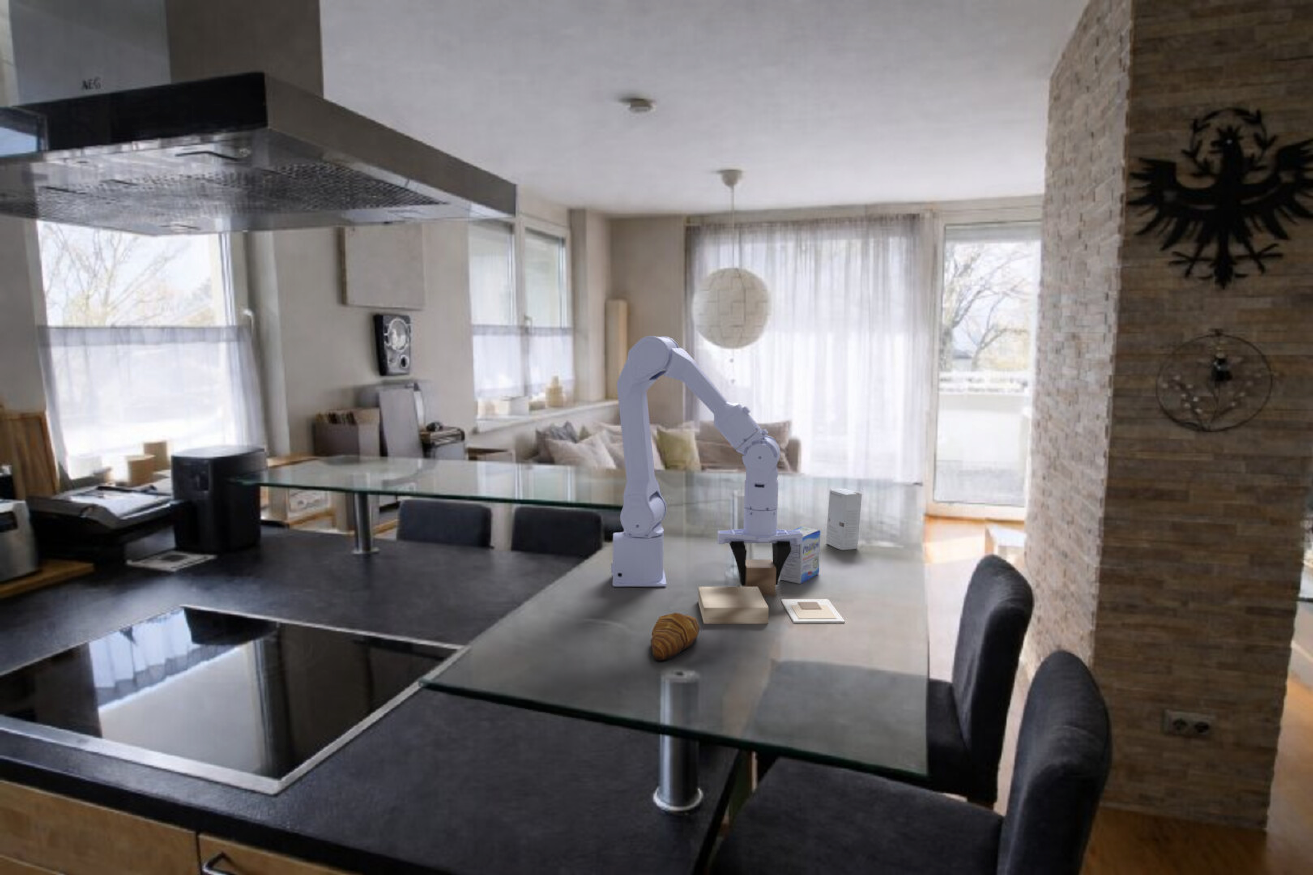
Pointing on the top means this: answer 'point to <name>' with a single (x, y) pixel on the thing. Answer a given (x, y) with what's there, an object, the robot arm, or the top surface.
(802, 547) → the medicine box
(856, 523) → the skincare box
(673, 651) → the croissant
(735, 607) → the maple block
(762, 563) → the walnut cube
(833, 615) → the picture card
